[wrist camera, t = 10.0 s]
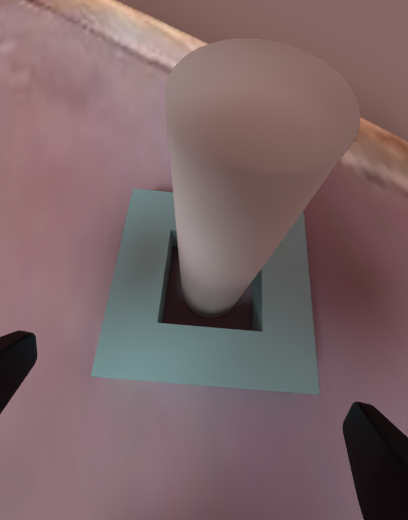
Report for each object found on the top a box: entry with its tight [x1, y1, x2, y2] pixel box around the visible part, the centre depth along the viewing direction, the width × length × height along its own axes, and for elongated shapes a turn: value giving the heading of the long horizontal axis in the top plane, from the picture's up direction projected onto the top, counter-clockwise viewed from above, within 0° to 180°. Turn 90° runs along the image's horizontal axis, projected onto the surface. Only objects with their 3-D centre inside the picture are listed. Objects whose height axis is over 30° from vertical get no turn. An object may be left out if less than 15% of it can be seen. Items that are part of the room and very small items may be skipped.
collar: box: [91, 189, 320, 395], centre depth 17 cm, size 12×12×2 cm
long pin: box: [165, 38, 360, 318], centre depth 12 cm, size 4×4×14 cm
